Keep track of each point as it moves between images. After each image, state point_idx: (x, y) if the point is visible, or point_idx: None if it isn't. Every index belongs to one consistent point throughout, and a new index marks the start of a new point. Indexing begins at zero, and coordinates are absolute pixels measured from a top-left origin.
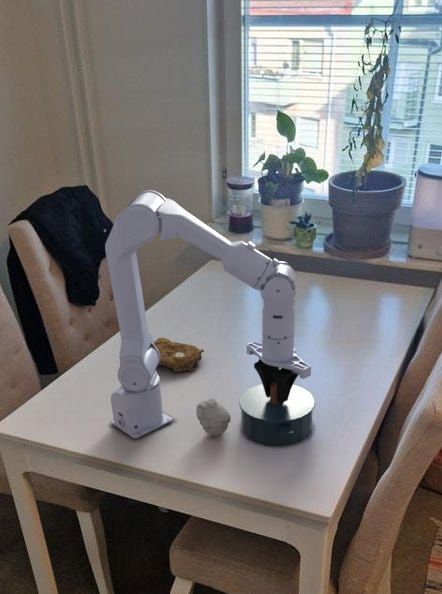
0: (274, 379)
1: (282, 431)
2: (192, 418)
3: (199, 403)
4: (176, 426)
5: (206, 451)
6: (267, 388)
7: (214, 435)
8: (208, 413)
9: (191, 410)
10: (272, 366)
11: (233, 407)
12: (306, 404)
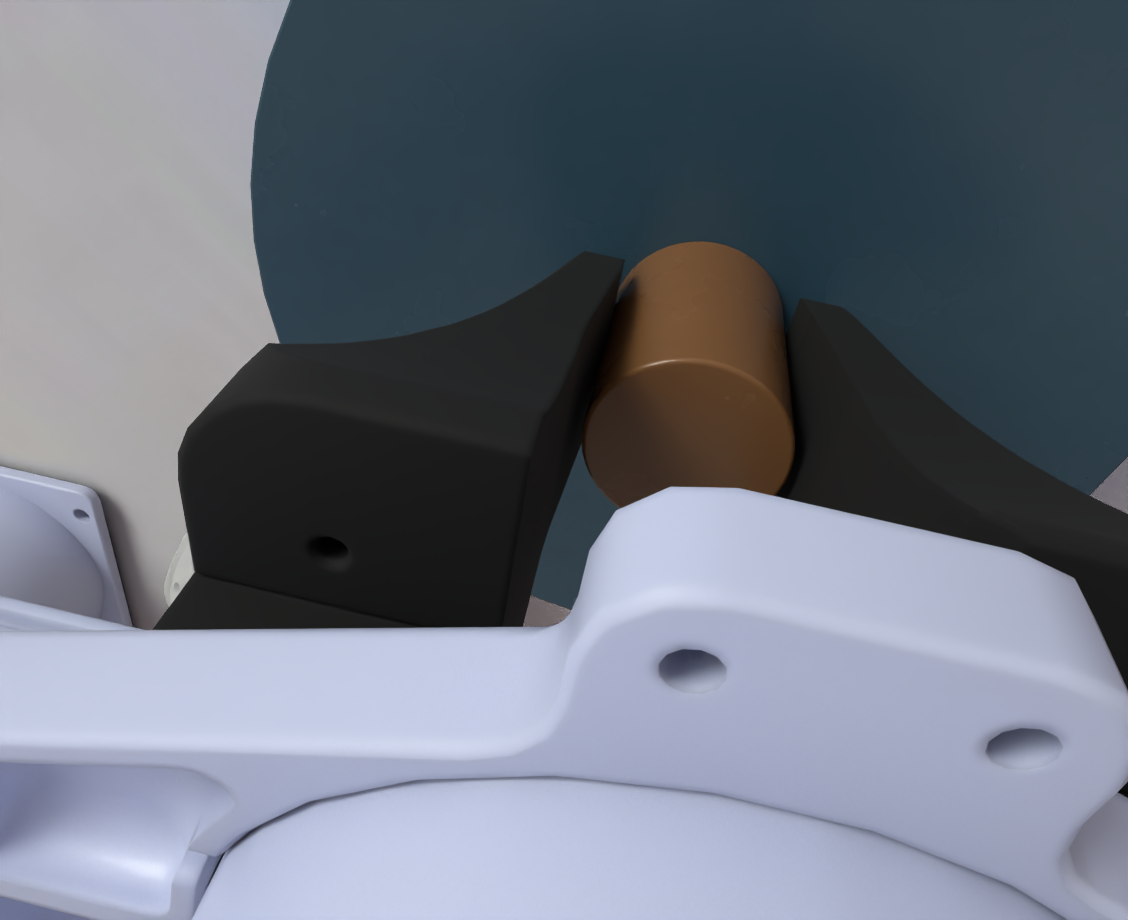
0: (577, 389)
1: None
2: (139, 405)
3: (169, 606)
4: (161, 512)
5: None
6: (572, 462)
7: None
8: None
9: (41, 331)
10: (513, 611)
11: (192, 113)
12: (1115, 196)
